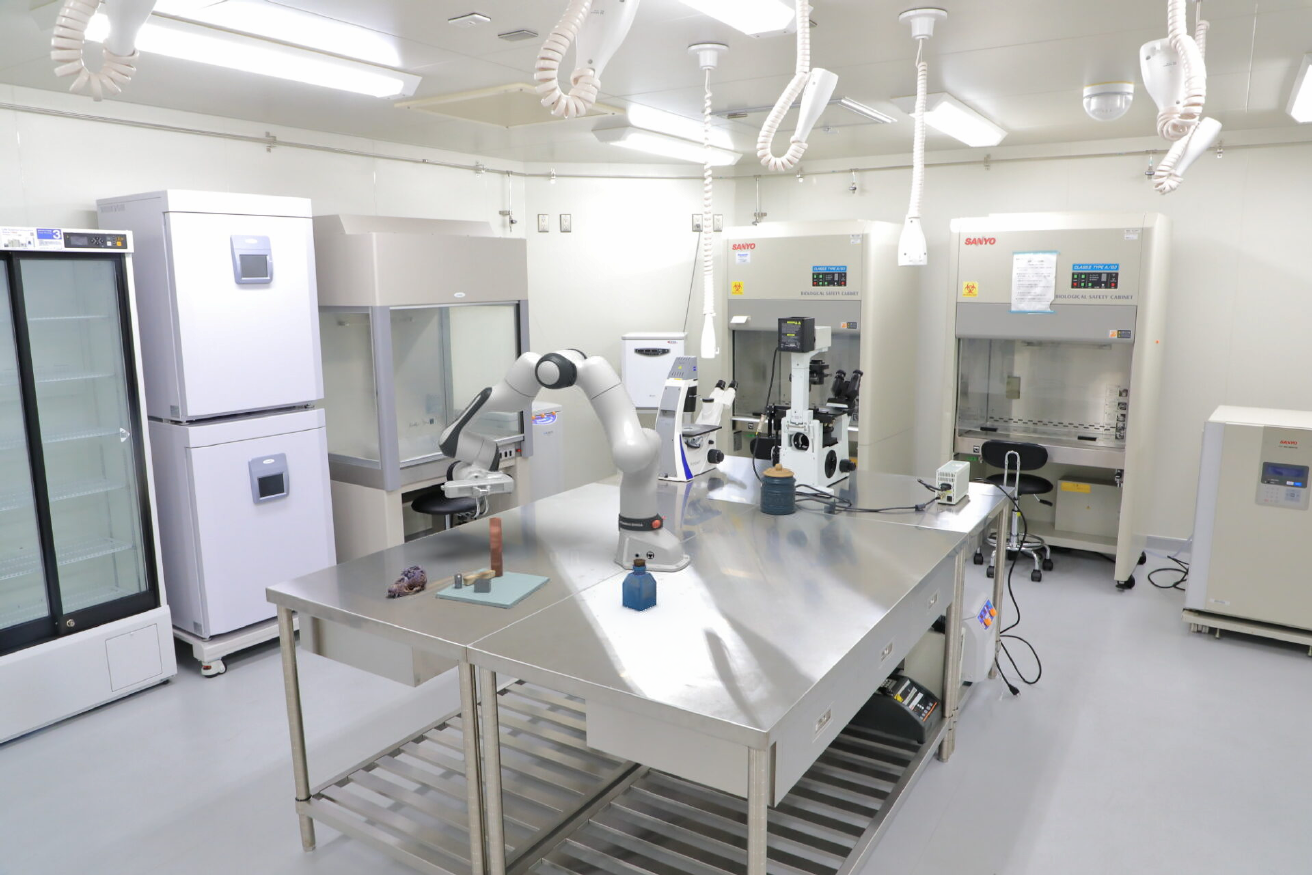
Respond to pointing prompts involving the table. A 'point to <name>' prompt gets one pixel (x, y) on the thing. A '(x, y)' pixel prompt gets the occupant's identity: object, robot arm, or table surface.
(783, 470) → the canister
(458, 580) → the hinge pin
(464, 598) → the board
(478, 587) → the block
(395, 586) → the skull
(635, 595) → the perfume bottle
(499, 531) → the brown piece
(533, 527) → the table surface
